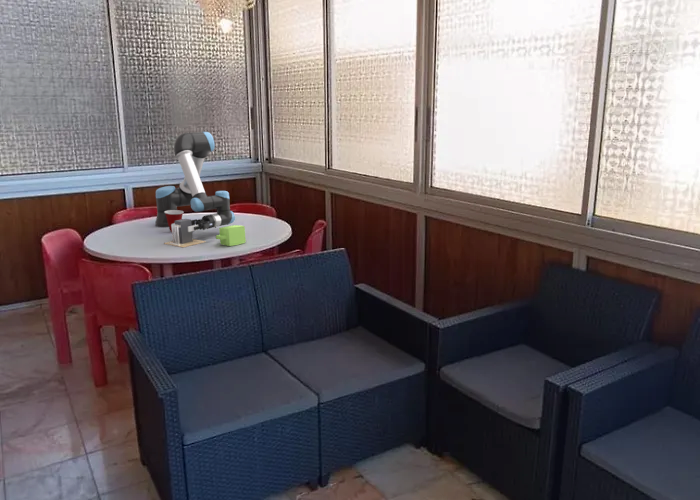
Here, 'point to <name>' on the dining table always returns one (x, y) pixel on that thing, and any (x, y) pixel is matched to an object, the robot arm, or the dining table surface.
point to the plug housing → (184, 231)
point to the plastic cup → (173, 217)
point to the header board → (179, 241)
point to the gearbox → (232, 235)
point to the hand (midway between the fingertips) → (179, 227)
